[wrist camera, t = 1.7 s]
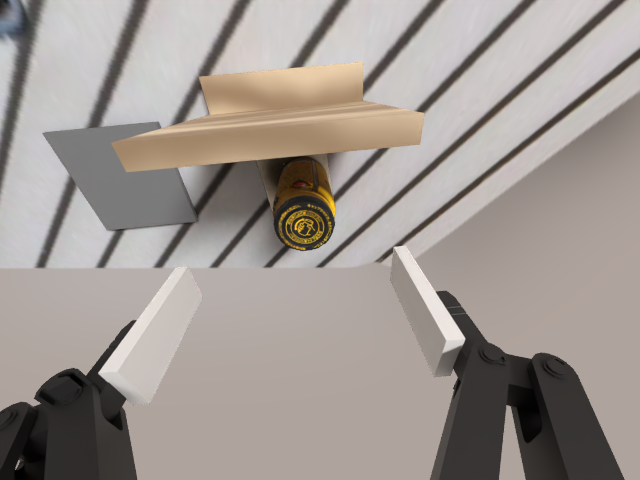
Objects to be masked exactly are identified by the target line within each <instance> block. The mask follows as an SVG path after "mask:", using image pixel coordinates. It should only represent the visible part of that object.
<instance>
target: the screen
mask: <svg viewBox="0 0 640 480" xmlns="http://www.w3.org/2000/svg"><path fill="white" fill-rule="evenodd" d="M199 79H200V83H201V86H202V89H203V93H204V96H205V100H206V103H207V106H208V110H209V113H210V115H207V116H204V117H200V118H197V119H193V120H190V121H186V122H183V123H179V124H176V125H172V126H169V127H165V128H162V129H158V130H155V131H151V132H147V133H144V134H140V135H137V136H133V137H130V138H126V139H123V140H119V141H116V142H112V143H111V144H112V146H113V148H114V150H115V152H116V154H117V155H118V157H119V159H120V161H121V163H122V165H123V167H124V169H125V170H126V172H135V171H145V170H156V169H166V168H177V167H187V166H198V165H209V164H219V163H230V162H240V161H251V160H261V159H272V158H282V157H293V156H304V155H314V154H325V153H335V152H346V151H356V150H367V149H377V148H388V147H398V146H409V145H420V141H421V134H422V128H423V121H424V114H425V113H420V112H415V111H411V110H406V109H401V108H396V107H391V106H387V105H382V104H377V103H372V102H367V101H363V62H355V63H344V64H334V65H323V66H312V67H301V68H290V69H279V70H268V71H258V72H247V73H236V74H225V75H214V76H203V77H199Z"/></svg>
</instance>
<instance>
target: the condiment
mask: <svg viewBox="0 0 640 480" xmlns="http://www.w3.org/2000/svg"><path fill="white" fill-rule="evenodd" d="M256 162H257V165H258V168H259V171H260V174H261V178H262V181H263V184H264V187H265V190H266V193H267V197H268V200H269V203H270V207H271V210H272V213H273V216H274V227H275V231H276V234H277V236H278V238H279V239H280V241H281V242H282V243H284V244H285V245H286V246H288V247H289V248H292V249H296V250H300V251H307V250H313V249H316V248H319V247H320V246H322V245H323V244H325V243H326V242H327V241H328V240H329V239H330V237H331V235H332V233H333V229H334V226H335V221H334V216H335V203H334V199H333V193H332V187H331V180H330V173H329V166H328V159H327V153H325V154H314V155H304V156H293V157H282V158H272V159H261V160H256ZM283 164H284V165H283Z"/></svg>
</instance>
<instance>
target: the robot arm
mask: <svg viewBox="0 0 640 480" xmlns="http://www.w3.org/2000/svg"><path fill="white" fill-rule="evenodd" d="M390 280H391V283H392V285H393V287H394V289H395V292H396V294H397V296H398V298H399V301H400V303H401V305H402V307H403V309H404V312H405V314H406V316H407V318H408V321H409V323H410V325H411V327H412V330H413V332H414V334H415V336H416V339H417V341H418V343H419V345H420V347H421V350H422V352H423V354H424V356H425V359H426V361H427V363H428V365H429V368H430V370H431V372H432V374H433V376H434V377H441V376H450V375H451V373H452V370H453V369H454V371H455V373H456V374H457V376H458V379H457V381H456V383H455V385H454V388H453V389H454V393H453V396H452V400H451V404H450V407H449V412H448V415H447V419H446V423H445V426H444V430H443V434H442V437H441V441H440V445H439V448H438V452H437V456H436V460H435V463H434V467H433V471H432V475H431V478H430V480H499V472H500V462H501V452H502V443H503V433H504V423H505V413H506V405H509V406H511V409H512V413H513V419H514V423H515V428H516V433H517V438H518V444H519V448H520V453H521V458H522V463H523V467H524V473H525V478H526V480H624V477H623V475H622V473H621V471H620V468H619V466H618V464H617V462H616V460H615V457H614V455H613V453H612V451H611V448H610V446H609V444H608V442H607V440H606V437H605V435H604V433H603V431H602V429H601V426H600V424H599V422H598V420H597V417H596V415H595V413H594V411H593V408H592V406H591V404H590V402H589V399H588V397H587V395H586V393H585V391H584V389H583V386H582V384H581V382H580V379H579V377H578V375H577V374H576V372H575V371H574V369H573V368H572V367H571V366H570V365H568V364H567V363H566V362H565V361H563V360H562V359H560V358H558V357H556V356H554V355H550V354H547V353H538V354H535V355H534V357H533V358H532V359H529V358H524V357H519V356H514V355H509V354H506V353H504V352H503V351H502V350H501V349H500V348H498V347H497V346H495V345H493V344H491V343H488V342H487V340H486V339H485V338H484V337H483V335H482V334H481V332H480V331H479V330H478V328H477V327H476V326H475V324H474V323H473V321H472V320H471V319H470V317H469V316H468V315H467V314H466V312H465V311H464V309H463V308H462V307H461V305H460V303H459V302H458V301H457V299H456V298H455V297H454V296H453V295H451V294H450V293H449V292H447V291H438V292H435V291H434V289H433V288H432V286H431V284H430V283H429V281H428V280H427V278H426V277H425V275H424V274H423V272H422V270H421V269H420V267H419V266H418V264H417V263H416V261H415V260H414V258H413V256H412V255H411V253H410V252H409V250H408V249H407V247H406V246H400V247H394V249H393V258H392V267H391V277H390ZM202 298H203V296H202V294H201V292H200V290H199V288H198V286H197V284H196V282H195V280H194V277H193V275H192V273H191V271H190V269H189V267H188V266H186V267H176V268H175V270H174V271H173V272H172V274H171V275H170V276H169V278H168V279H167V281H166V282H165V283H164V284H163V286H162V287H161V289H160V290H159V291H158V293H157V294H156V295H155V297H154V298H153V299H152V301H151V302H150V304H149V305H148V306H147V307H146V309H145V310H144V312H143V313H142V315H141V316H140V317H139V318H138V320H133V321H131V322H130V323H129V324H128V325H127V326H125V327H124V328H123V329H122V330H121V331H120V333H119V334H118V336H116V338H115V340H114V341H113V342H112V343H111V344H110V346H109V348H108V349H106V351H105V352H104V353H103V355H102V356H101V357H100V359H99V360H98V361H97V362H96V364H95V365H94V366H93V368H92V369H91V370H90V371H89V373H88V374H87V375H86V376H85V375H84V374H83V373H82V372H81V371H79V370H78V369H75V368H71V369H66V370H64V371H62V372H60V373H58V374H56V375H55V376H53V377H51V378H50V379H49V380H48V381H46V382H45V383H44V384H43V385H42V386H41V388H40V389H39V390H38V391H37V392H36V395H35V398H34V399H36V400H37V401H38V402H40V403H41V404H40V405H37V406H34V407H33V406H31V405H30V404H28V403H26V402H19V403H16V404H13V405H11V406H9V407H7V408H5V409H4V410H2V411H1V412H0V480H137V475H136V469H135V464H134V459H133V453H132V447H131V442H130V436H129V430H128V425H127V419H126V414H125V411H124V409H123V408H122V406H123V404H124V402H125V401H126V399H127V400H128V401H129V402H130V403H131V404H132V405H142V404H150V402H151V400H152V398H153V396H154V394H155V392H156V390H157V388H158V386H159V384H160V382H161V380H162V378H163V376H164V374H165V372H166V370H167V368H168V366H169V364H170V362H171V360H172V358H173V356H174V354H175V352H176V350H177V348H178V346H179V344H180V342H181V340H182V338H183V336H184V334H185V331H186V330H187V328H188V326H189V324H190V322H191V320H192V318H193V316H194V314H195V312H196V310H197V308H198V306H199V304H200V302H201V300H202ZM18 460H20V463H19V465H18V467H17V469H16V470H15V467H16V465H17V462H18Z"/></svg>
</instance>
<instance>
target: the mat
mask: <svg viewBox="0 0 640 480" xmlns="http://www.w3.org/2000/svg"><path fill="white" fill-rule="evenodd" d="M158 129H161V127H160V124H159V122H150V123H139V124H128V125H118V126H107V127H96V128H86V129H75V130H64V131H53V132H45V133H42V134H43V135H44V137H45V138H46V140H47V141H48V143H49V144H50V146H51V147H52V149H53V150H54V152H55V153H56V155H57V156H58V158H59V159H60V161H61V162H62V164H63V165H64V167H65V168H66V170H67V171H68V173H69V174H70V176H71V177H72V179H73V180H74V182H75V183H76V185H77V186H78V188H79V189H80V191H81V192H82V194H83V195H84V197H85V198H86V200H87V201H88V203H89V204H90V206H91V207H92V209H93V210H94V212H95V213H96V215H97V216H98V218H99V219H100V220H101V222H102V223H103V225H104V226H105V228H106V229H107V230H115V229H126V228H136V227H146V226H157V225H167V224H177V223H188V222H197V221H198V217H197V215H196V212H195V210H194V207H193V205H192V203H191V200H190V198H189V195H188V193H187V190H186V188H185V185H184V183H183V180H182V178H181V176H180V173H179V171H178V168H166V169H156V170H145V171H135V172H126V170H125V169H124V167H123V165H122V163H121V161H120V159H119V157H118V155H117V154H116V152H115V150H114V148H113V146H112V144H111V143H112V142H116V141H119V140H123V139H126V138H130V137H133V136H137V135H140V134H144V133H147V132H151V131H155V130H158Z"/></svg>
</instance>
